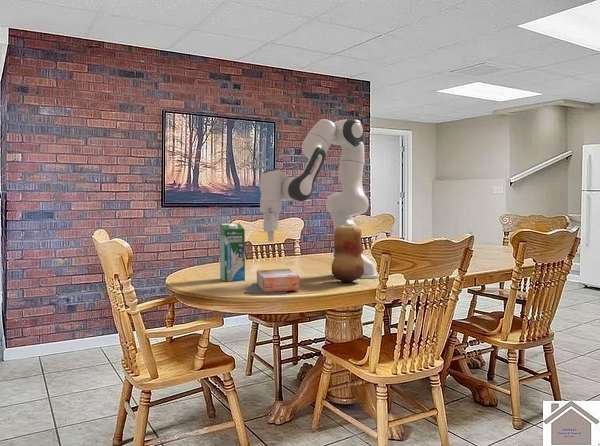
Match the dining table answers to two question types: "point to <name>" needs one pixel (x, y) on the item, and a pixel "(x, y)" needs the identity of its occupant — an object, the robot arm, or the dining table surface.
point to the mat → (257, 290)
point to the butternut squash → (347, 253)
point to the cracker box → (277, 280)
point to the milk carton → (232, 252)
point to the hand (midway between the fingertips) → (270, 241)
